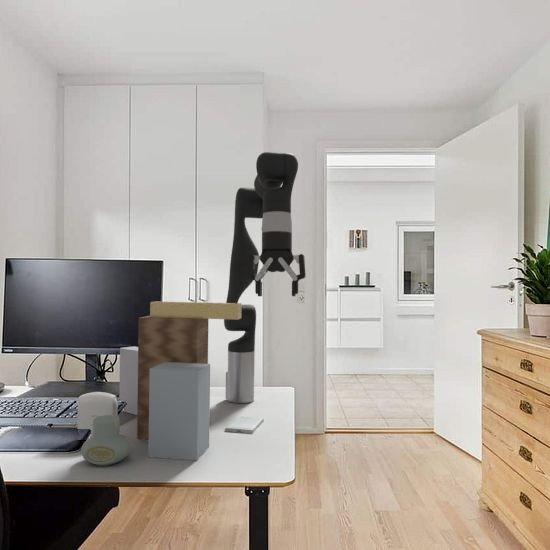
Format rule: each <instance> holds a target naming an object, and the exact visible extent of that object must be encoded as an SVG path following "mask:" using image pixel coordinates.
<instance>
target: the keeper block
mask: <svg viewBox="0 0 550 550" xmlns="http://www.w3.org/2000/svg"><path fill="white" fill-rule="evenodd" d="M210 398H211V363H208V364H203V363H179V362H164V363H161V364H159V365H157V366H155V367H153V368H150V381H149V441H148V458H154V457H156V458H157V457H159V458H157V459H168V458H172V459H171V460H182V459H184V460H183V461H185V460H186V461H196V460H197V461H198V460H199V459H200V458H201V457H202V456H203V454H204V453H205V452H206V451H207V450H208V449H209V448H210V419H211V418H210V411H211V410H210V409H211V407H210V405H211V403H210V402H211V399H210ZM207 448H208V449H207ZM206 449H207V450H206ZM205 450H206V451H205ZM201 455H202V456H201ZM200 456H201V457H200ZM199 457H200V458H199Z"/></svg>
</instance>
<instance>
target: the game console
mask: <svg viewBox="0 0 550 550" xmlns="http://www.w3.org/2000/svg"><path fill="white" fill-rule="evenodd" d="M118 395H119V396H118V398H119V399H122V400H124V401H125V402H126V403H127V405H126V407H125V408H124V410H122V412H124V413H129V414H132V415H135V416H137V400H138V346H127V347H125V346H124V347H120V348H119V393H118ZM119 399H118V400H119Z"/></svg>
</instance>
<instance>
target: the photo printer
mask: <svg viewBox="0 0 550 550" xmlns="http://www.w3.org/2000/svg"><path fill="white" fill-rule="evenodd" d="M77 399H78V400H77V412H76V413H77V417H76V418H77V428H76V429H90V430H91V436H90V437H92V436H93V420H94V419H95V418H96V417H99V416H104V415H114V416H118V399H117V395H115V394H112V393H109V392H105V391H103V392H102V391H92V392H87V393H84V394H81V395H80V396H79V397H78V398H77Z"/></svg>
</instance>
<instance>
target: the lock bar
mask: <svg viewBox="0 0 550 550" xmlns="http://www.w3.org/2000/svg"><path fill="white" fill-rule="evenodd" d="M149 304H150V305H149V306H150V307H149V308H150V310H149V311H150V313H149V316H150V317H164V318H200V319H208V320H224V319H236V320H238V319H241V309H242V305H243V304H242V303H241V302H240V303H239V302H238V303H226V302H205V301H204V302H201V301H199V302H197V301H159V300H158V301H151V302H150V303H149Z"/></svg>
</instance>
